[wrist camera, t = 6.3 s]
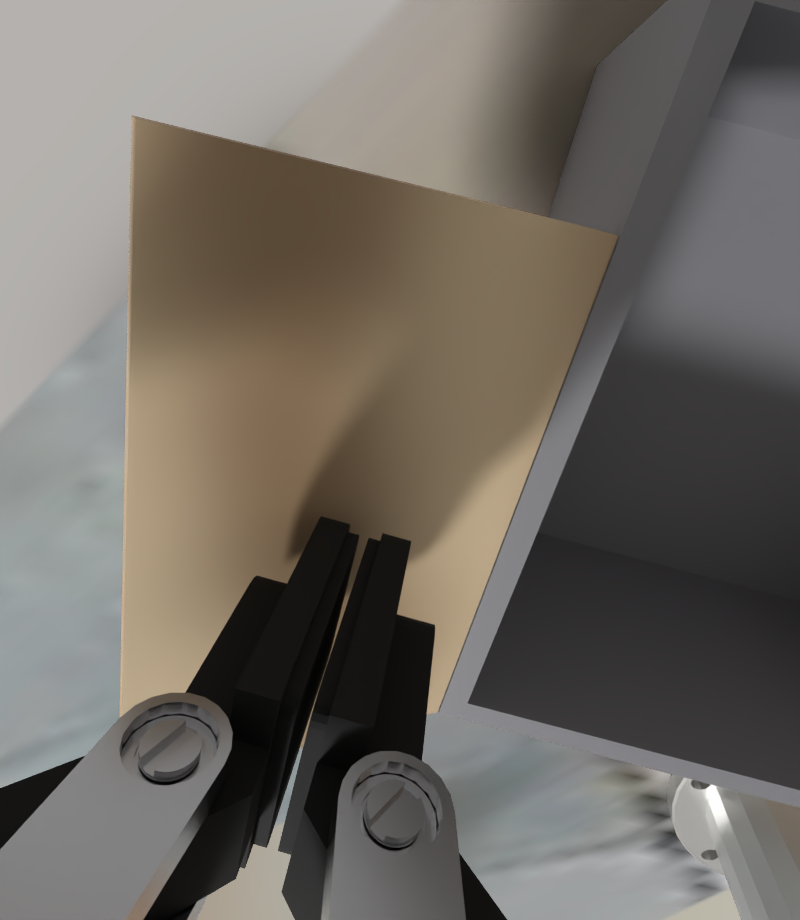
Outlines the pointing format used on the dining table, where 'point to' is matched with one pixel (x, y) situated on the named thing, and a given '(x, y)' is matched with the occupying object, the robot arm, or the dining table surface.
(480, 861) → the dining table surface
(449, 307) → the flap
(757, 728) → the carton
